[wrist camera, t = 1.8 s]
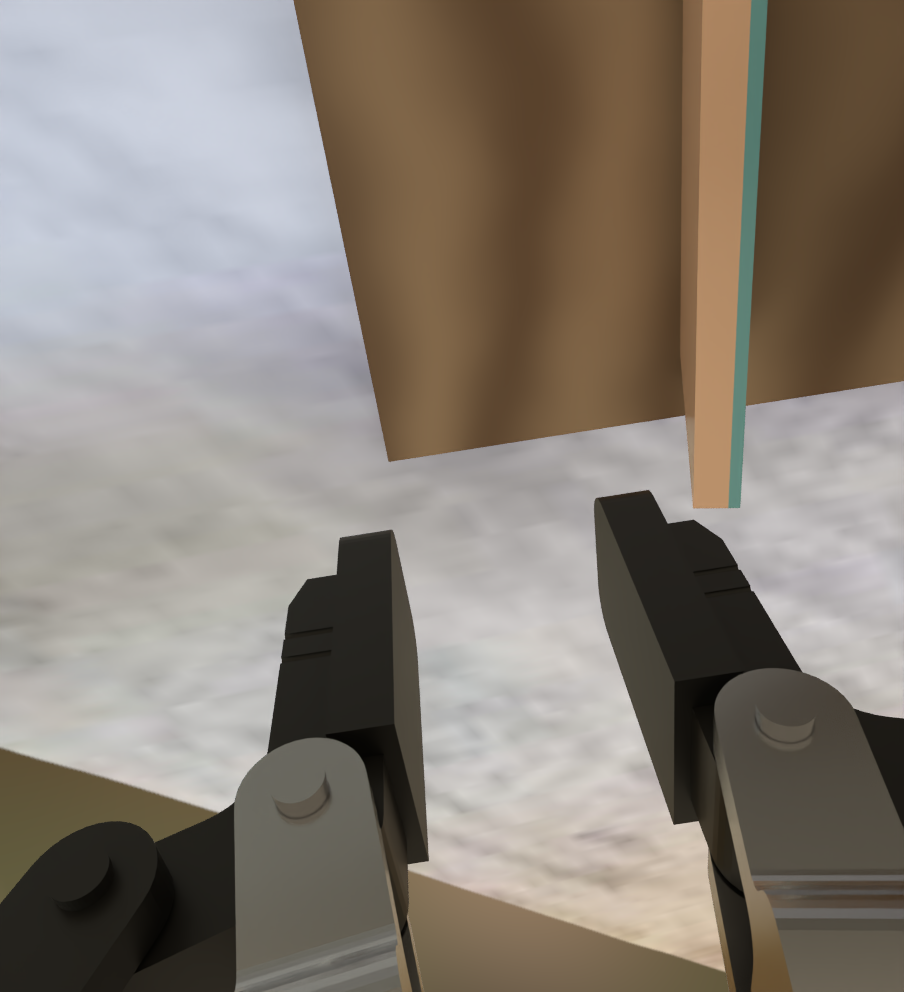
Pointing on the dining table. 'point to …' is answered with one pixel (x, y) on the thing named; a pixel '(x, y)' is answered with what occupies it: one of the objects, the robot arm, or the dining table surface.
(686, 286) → the tile
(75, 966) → the robot arm
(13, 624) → the dining table surface
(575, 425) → the board
